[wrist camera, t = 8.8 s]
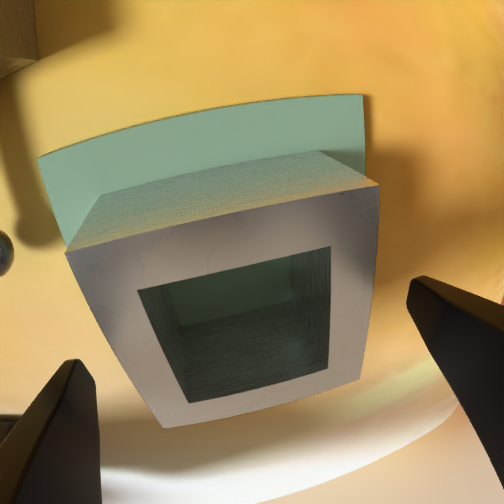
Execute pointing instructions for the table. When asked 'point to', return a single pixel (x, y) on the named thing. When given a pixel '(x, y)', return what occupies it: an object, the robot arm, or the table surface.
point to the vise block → (9, 61)
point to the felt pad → (201, 158)
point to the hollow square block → (228, 257)
